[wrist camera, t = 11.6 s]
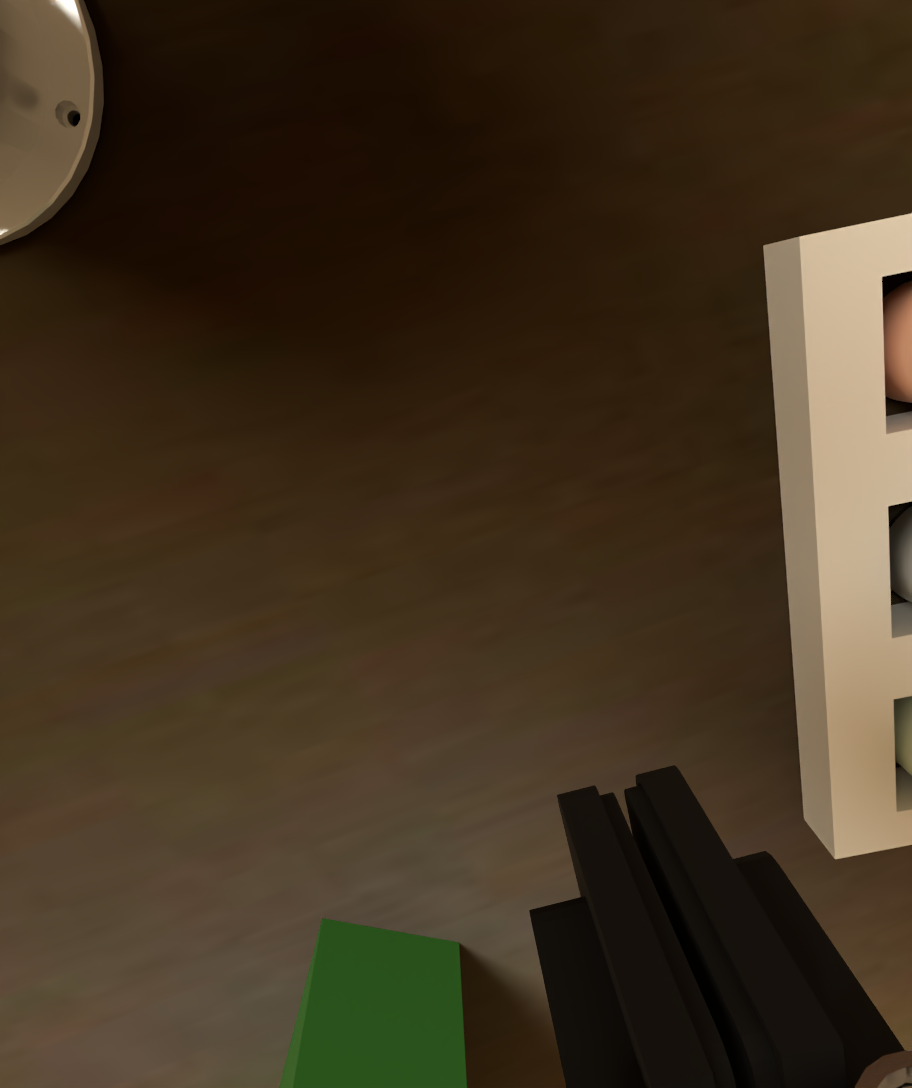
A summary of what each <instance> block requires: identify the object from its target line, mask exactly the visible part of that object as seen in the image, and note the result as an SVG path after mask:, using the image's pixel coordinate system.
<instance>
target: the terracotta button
mask: <svg viewBox="0 0 912 1088" xmlns="http://www.w3.org/2000/svg"><path fill="white" fill-rule="evenodd" d="M883 335H884V371H885V396H886V397H888V398H890V399H894V400H897V401H903V402H910V403H912V281H909V282H907V283H904V284H902V285H900V286H899V287H897V288H895V289H894V290H892V291H891V292H890V293H888V294H887V295H886V296H885V297H884V298H883Z"/></svg>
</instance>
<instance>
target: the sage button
mask: <svg viewBox="0 0 912 1088" xmlns="http://www.w3.org/2000/svg"><path fill="white" fill-rule="evenodd" d="M894 736H895V761H896V762H897V763H898V764H899V765H900V766H902V767H903V768H904V769H905V770H906V771H907V772H908V773H909V774H910V775H911V776H912V696H909V697H904V698H899V699H894Z"/></svg>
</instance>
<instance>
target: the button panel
mask: <svg viewBox="0 0 912 1088" xmlns="http://www.w3.org/2000/svg"><path fill="white" fill-rule="evenodd" d="M763 249H764V263H765V277H766V291H767V305H768V319H769V333H770V348H771V362H772V376H773V390H774V404H775V418H776V432H777V446H778V461H779V475H780V489H781V503H782V517H783V531H784V545H785V559H786V574H787V588H788V602H789V616H790V630H791V644H792V658H793V672H794V687H795V701H796V715H797V729H798V743H799V757H800V771H801V785H802V799H803V814H804V820H805V821H806V822H807V824H808V825H809V826H810V828H811V829H812V830H813V831H814V833H815V834H816V835H817V837H818V838H819V839H820V840H821V842H822V843H823V844H824V846H825V847H826V848H827V850H828V851H829V852H830V853H831V855H832V856H833V857H834V859H840V858H845V857H850V856H856V855H861V854H866V853H871V852H876V851H882V850H887V849H892V848H897V847H902V846H908V845H912V776H911V775H910V774H909V773H908V772H907V771H906V770H905V769H904V768H903V767H898V768H895V736H894V699H899V698H904V697H909V696H912V603H911V602H905V603H900V604H895V605H891V590H890V554H889V517H888V506H892V505H897V504H902V503H907V502H912V411H910V412H905V413H900V414H895V415H890V416H886V408H885V371H884V335H883V299H882V277H883V276H888V275H893V274H898V273H903V272H908V271H912V213H911V214H906V215H902V216H897V217H892V218H887V219H882V220H877V221H873V222H868V223H863V224H858V225H853V226H848V227H844V228H839V229H834V230H829V231H824V232H820V233H815V234H810V235H805V236H800V237H796V238H792V239H788V240H784V241H780V242H776V243H772V244H767V245H763Z"/></svg>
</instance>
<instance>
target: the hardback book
mask: <svg viewBox="0 0 912 1088" xmlns="http://www.w3.org/2000/svg"><path fill="white" fill-rule="evenodd" d="M279 1088H467V1078H466V1060H465V1042H464V1024H463V1006H462V987H461V969H460V951H459V942H453V941H447V940H442V939H436V938H430V937H425V936H419V935H413V934H408V933H402V932H396V931H391V930H385V929H379V928H374V927H368V926H362V925H357V924H351V923H345V922H340V921H334V920H328V919H323V918H322V921H321V925H320V929H319V933H318V937H317V941H316V945H315V949H314V953H313V957H312V961H311V965H310V969H309V973H308V976H307V980H306V984H305V988H304V992H303V996H302V1000H301V1004H300V1008H299V1012H298V1016H297V1020H296V1024H295V1028H294V1032H293V1036H292V1039H291V1043H290V1047H289V1051H288V1055H287V1059H286V1063H285V1067H284V1071H283V1075H282V1079H281V1083H280V1087H279Z"/></svg>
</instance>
